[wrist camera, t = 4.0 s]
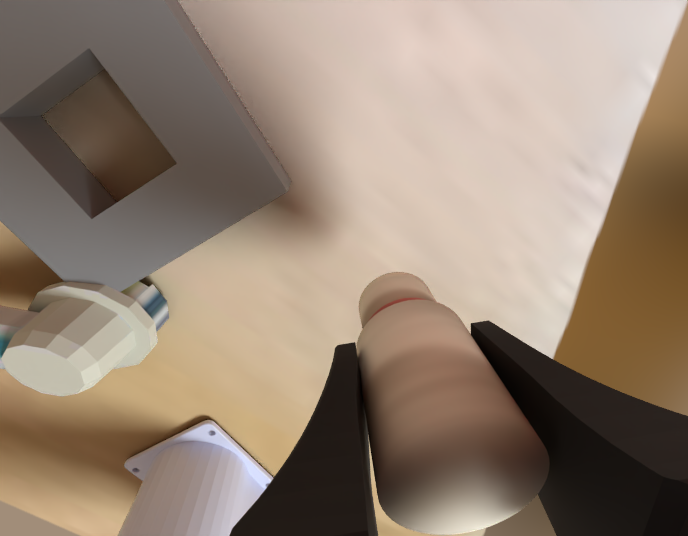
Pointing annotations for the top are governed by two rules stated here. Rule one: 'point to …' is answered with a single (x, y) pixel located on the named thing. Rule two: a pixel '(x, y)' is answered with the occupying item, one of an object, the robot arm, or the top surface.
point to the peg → (439, 416)
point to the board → (157, 111)
